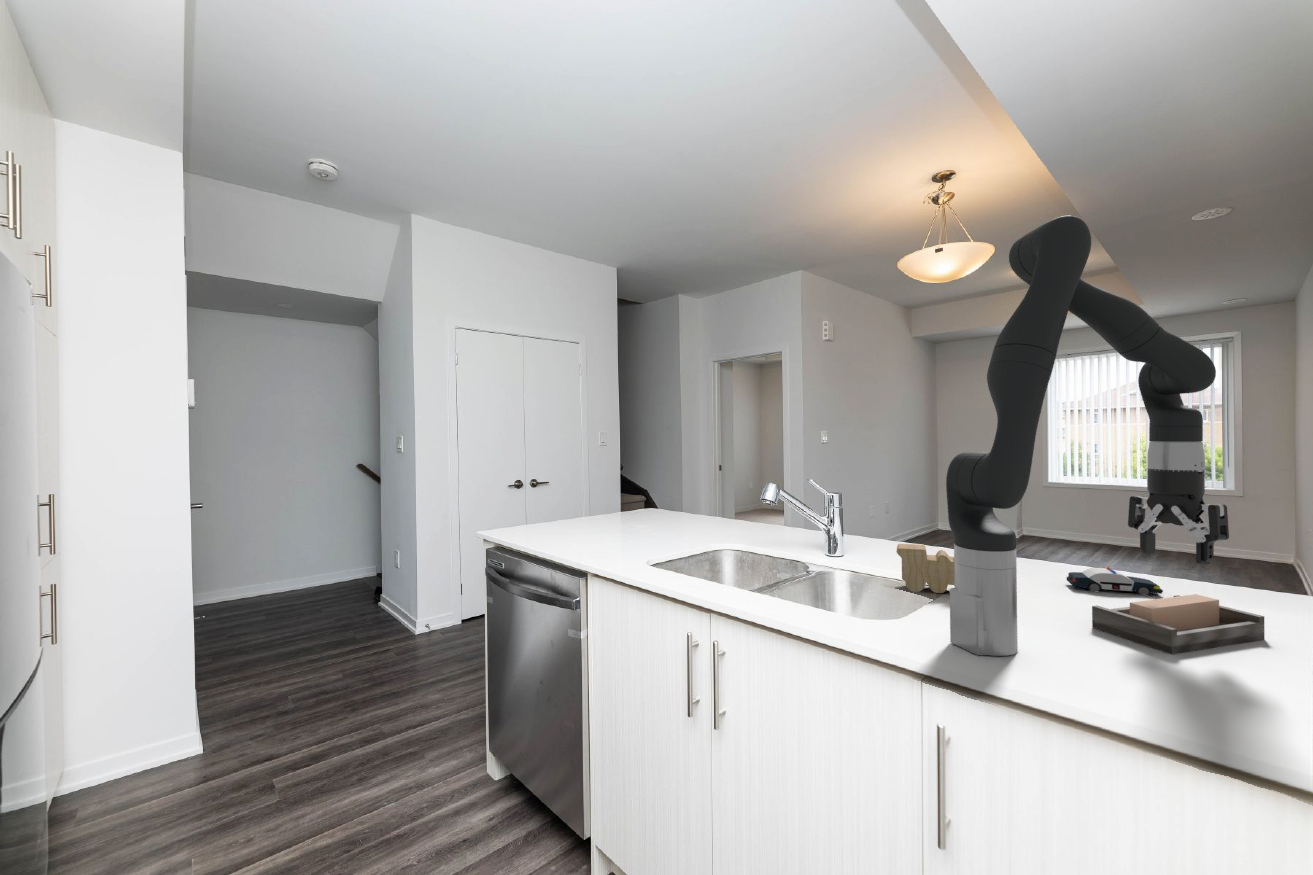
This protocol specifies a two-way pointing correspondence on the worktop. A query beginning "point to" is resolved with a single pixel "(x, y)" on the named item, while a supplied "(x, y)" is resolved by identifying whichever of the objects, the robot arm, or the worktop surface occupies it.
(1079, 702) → the worktop surface
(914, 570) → the toy train
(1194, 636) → the charcoal tray
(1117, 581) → the toy car
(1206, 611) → the tan rectangular block
